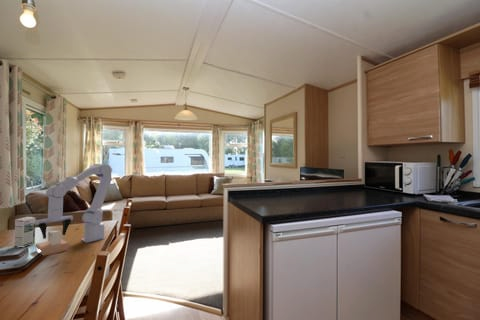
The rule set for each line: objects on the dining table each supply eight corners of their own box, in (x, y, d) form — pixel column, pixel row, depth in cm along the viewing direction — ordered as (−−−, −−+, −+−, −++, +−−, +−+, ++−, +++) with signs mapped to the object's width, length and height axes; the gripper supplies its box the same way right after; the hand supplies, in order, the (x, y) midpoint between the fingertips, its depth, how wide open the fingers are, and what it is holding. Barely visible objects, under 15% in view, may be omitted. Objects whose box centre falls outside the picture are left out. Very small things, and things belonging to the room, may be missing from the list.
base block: (60, 246, 119) (60, 238, 119) (67, 250, 113) (67, 242, 113) (35, 251, 111) (36, 243, 111) (42, 257, 105) (42, 248, 105)
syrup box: (22, 248, 114) (23, 219, 115) (13, 247, 115) (15, 218, 116) (34, 244, 120) (36, 217, 120) (26, 243, 121) (27, 216, 121)
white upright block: (57, 241, 114) (58, 230, 114) (61, 243, 112) (61, 231, 112) (48, 244, 111) (48, 231, 111) (51, 245, 109) (52, 233, 109)
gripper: (70, 206, 121) (69, 231, 121) (34, 210, 109) (33, 238, 109) (74, 208, 117) (73, 234, 116) (37, 212, 105) (36, 241, 105)
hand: (54, 236), depth 112 cm, fingers open, 7 cm apart
